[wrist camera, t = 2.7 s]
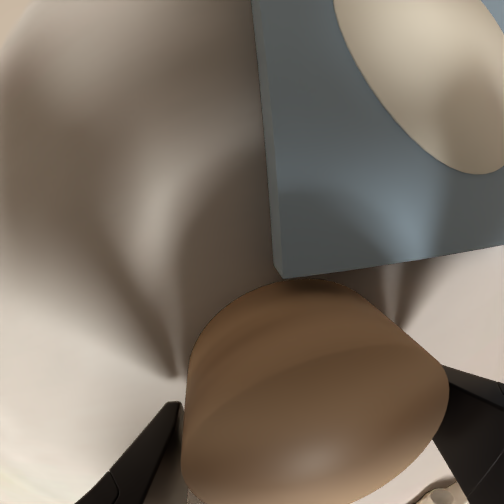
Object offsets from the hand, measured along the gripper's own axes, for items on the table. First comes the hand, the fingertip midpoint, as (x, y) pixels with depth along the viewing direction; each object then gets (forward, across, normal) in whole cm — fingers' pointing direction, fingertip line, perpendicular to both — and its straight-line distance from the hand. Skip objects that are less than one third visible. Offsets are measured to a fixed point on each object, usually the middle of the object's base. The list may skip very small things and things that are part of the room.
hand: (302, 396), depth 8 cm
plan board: (+1, -6, -11) cm, 13 cm away
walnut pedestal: (+1, 0, 0) cm, 1 cm away
